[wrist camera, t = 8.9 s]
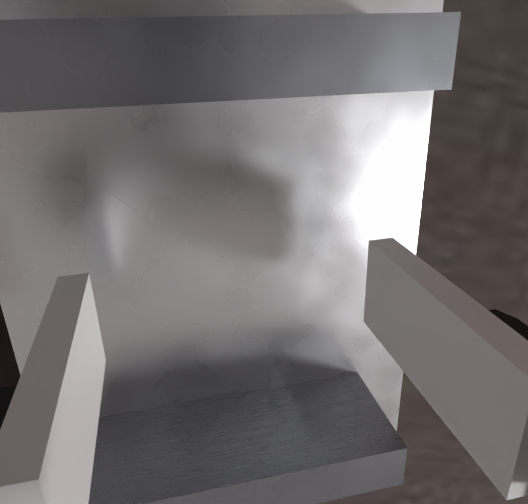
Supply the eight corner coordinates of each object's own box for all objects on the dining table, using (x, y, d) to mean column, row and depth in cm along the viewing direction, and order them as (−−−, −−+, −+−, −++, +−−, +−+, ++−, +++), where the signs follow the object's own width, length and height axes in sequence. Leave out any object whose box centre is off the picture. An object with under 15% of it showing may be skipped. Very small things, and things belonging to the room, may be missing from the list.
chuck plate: (-84, -53, 12) (-224, -116, 7) (430, -48, 15) (558, -91, 10) (59, 478, 19) (33, 611, 14) (386, 415, 22) (449, 510, 17)
